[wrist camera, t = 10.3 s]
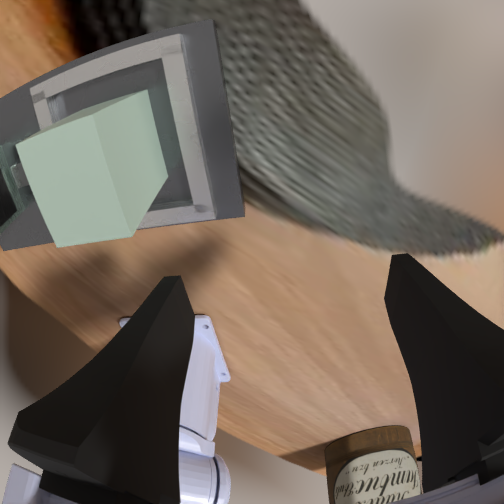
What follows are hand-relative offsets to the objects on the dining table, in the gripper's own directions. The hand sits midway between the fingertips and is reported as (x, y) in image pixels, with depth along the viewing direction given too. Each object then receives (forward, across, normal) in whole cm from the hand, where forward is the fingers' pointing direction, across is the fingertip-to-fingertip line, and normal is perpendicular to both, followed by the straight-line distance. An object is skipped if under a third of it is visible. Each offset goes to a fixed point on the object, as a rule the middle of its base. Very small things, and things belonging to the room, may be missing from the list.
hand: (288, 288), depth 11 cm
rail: (+9, +12, -4) cm, 15 cm away
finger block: (+8, +8, -4) cm, 12 cm away
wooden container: (+9, -12, +46) cm, 48 cm away
